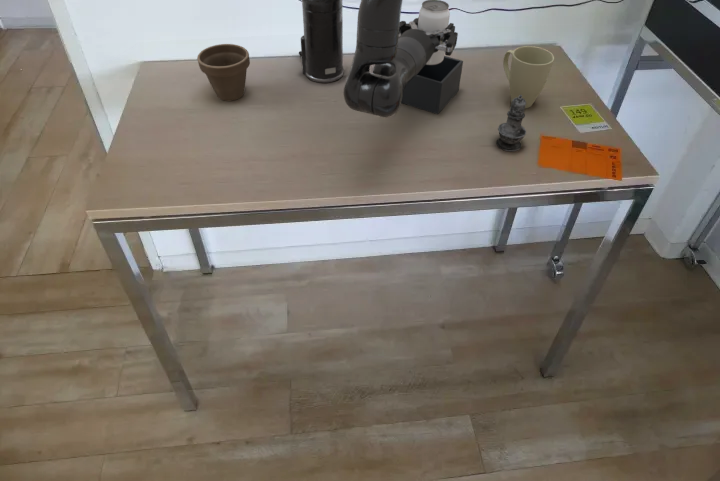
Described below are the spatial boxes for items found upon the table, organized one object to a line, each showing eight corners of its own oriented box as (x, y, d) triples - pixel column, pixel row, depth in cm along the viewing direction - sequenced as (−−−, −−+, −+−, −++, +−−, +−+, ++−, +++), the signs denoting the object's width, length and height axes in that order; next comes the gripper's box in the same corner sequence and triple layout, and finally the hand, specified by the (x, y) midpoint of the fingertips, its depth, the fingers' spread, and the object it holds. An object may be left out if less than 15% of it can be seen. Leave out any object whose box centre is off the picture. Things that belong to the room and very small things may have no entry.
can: (449, 60, 125) (457, 6, 116) (428, 68, 122) (434, 13, 113) (429, 49, 128) (436, -4, 120) (408, 57, 125) (413, 3, 117)
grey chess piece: (491, 136, 123) (502, 87, 114) (518, 135, 123) (530, 86, 115) (498, 152, 118) (510, 102, 110) (526, 151, 119) (539, 101, 110)
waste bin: (390, 99, 133) (392, 69, 127) (413, 77, 140) (416, 48, 135) (438, 114, 129) (442, 83, 123) (458, 90, 136) (463, 60, 131)
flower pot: (195, 100, 131) (186, 60, 124) (221, 78, 138) (214, 39, 131) (238, 111, 128) (231, 71, 121) (262, 88, 136) (257, 48, 128)
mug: (543, 95, 135) (556, 47, 127) (538, 116, 129) (552, 67, 120) (498, 86, 138) (507, 40, 129) (491, 107, 131) (501, 59, 123)
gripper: (444, 45, 106) (470, 13, 117) (375, 30, 110) (406, 0, 121) (439, 81, 111) (465, 47, 122) (373, 65, 116) (404, 34, 127)
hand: (436, 24), depth 122 cm, fingers closed on can, 6 cm apart
